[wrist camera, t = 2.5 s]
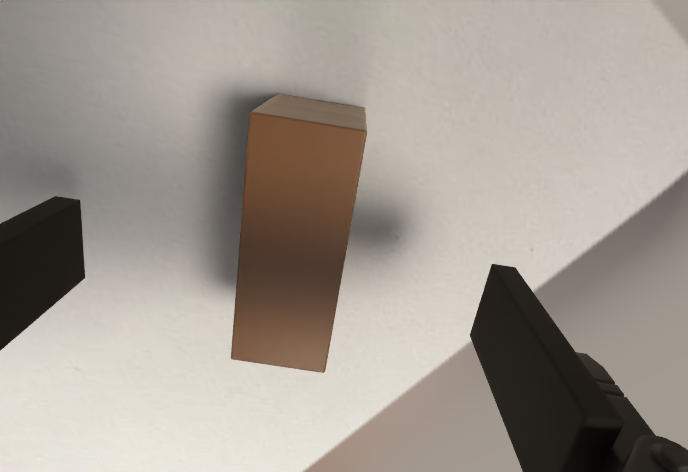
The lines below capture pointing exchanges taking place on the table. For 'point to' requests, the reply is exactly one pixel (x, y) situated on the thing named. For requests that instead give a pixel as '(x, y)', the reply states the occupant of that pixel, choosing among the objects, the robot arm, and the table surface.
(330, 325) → the brown rectangular block
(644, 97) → the table surface
